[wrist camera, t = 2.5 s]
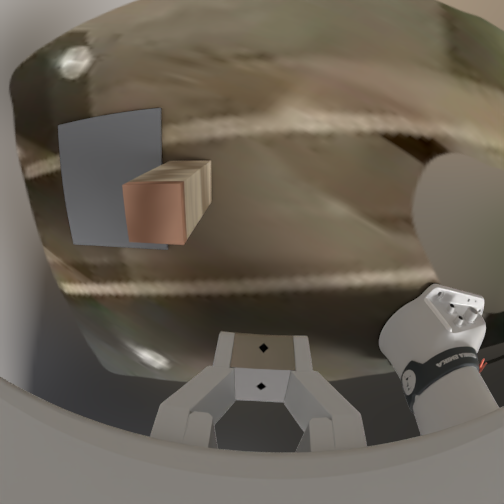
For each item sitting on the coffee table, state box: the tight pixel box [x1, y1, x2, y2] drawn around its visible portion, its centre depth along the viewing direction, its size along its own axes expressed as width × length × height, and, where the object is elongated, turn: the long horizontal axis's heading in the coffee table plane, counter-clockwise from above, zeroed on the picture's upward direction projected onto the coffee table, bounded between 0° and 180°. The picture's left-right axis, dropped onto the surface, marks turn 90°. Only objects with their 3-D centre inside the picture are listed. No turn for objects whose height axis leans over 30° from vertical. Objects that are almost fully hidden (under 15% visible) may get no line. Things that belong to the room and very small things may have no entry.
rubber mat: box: [58, 108, 168, 250], centre depth 32 cm, size 16×18×1 cm
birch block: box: [122, 160, 212, 245], centre depth 27 cm, size 5×5×12 cm
